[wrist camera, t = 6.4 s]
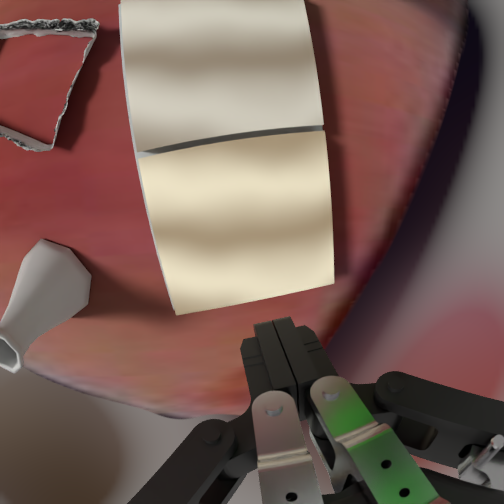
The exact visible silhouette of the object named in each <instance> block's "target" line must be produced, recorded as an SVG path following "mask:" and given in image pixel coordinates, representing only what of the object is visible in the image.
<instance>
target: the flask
mask: <svg viewBox="0 0 504 504" xmlns="http://www.w3.org/2000/svg"><path fill="white" fill-rule="evenodd" d="M91 277H92V275H91V274H90V273H89V272H88V271H87V270H86V268H85V267H84V266H83V265H82V263H81V262H80V261H79V260H78V258H77V257H76V256H75V255H74V253H73V252H72V251H71V250H70V249H69V248H67V247H64V246H61V245H58V244H55V243H52V242H49V241H46V240H44V239H40V240H39V241H38V243H37V244H36V245H35V246H34V247H33V248H32V249H31V250H30V251H29V252H28V254H27V255H26V256H25V257H24V259H23V261H22V264H21V267H20V270H19V273H18V277H17V280H16V283H15V286H14V289H13V292H12V295H11V298H10V302H9V305H8V307H7V309H6V311H5V313H4V315H3V317H2V319H1V321H0V366H1V367H2V368H4V369H6V370H8V371H10V372H12V373H16V372H17V371H18V370H19V369H20V368H22V367H23V365H24V359H23V356H24V354H25V352H26V351H27V349H28V348H29V346H30V345H31V344H32V343H33V342H34V341H35V340H36V339H37V338H38V337H39V336H41V335H42V334H44V333H45V332H47V331H49V330H50V329H52V328H54V327H56V326H57V325H59V324H61V323H63V322H65V321H67V320H68V319H70V318H71V317H72V316H74V315H75V314H76V313H77V312H79V311H80V310H81V309H83V308H84V307H85V306H86V305H88V301H89V292H90V284H91Z"/></svg>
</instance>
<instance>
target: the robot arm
mask: <svg viewBox="0 0 504 504" xmlns="http://www.w3.org/2000/svg"><path fill="white" fill-rule="evenodd" d="M254 331H255V337H252V338H247V339H243V342H242V345H241V348H240V350H241V355H242V359H243V364H244V368H245V373H246V377H247V382H248V386H249V391H250V395H251V403H250V406H249V408H248V409H247V411H246V412H245V413H244V414H242V415H241V416H240V417H238V418H236V419H234V420H232V421H230V422H225V421H222V420H219V419H210V420H206V421H203V422H202V423H199V424H198V425H197V426H196V427H195V428H194V429H193V430H192V431H191V433H190V434H189V435H188V436H187V437H186V438H185V440H184V441H183V442H182V443H181V444H180V446H179V447H178V448H177V449H176V450H175V451H174V453H173V454H172V455H171V456H170V457H169V458H168V459H167V461H166V462H165V463H164V464H163V465H162V466H161V468H160V469H159V470H158V471H157V472H156V473H155V474H154V475H153V477H152V478H151V479H150V480H149V481H148V482H147V483H146V484H145V485H144V486H143V488H142V489H141V490H140V491H139V492H138V493H137V494H136V495H135V496H134V497H133V498H132V499H131V500H130V501H129V502H128V503H127V504H227V503H228V501H229V500H230V499H231V497H232V496H233V494H234V493H235V491H236V490H237V489H238V487H239V485H240V484H241V483H242V481H243V480H244V478H245V477H246V475H247V473H249V472H250V471H253V470H255V469H257V468H258V474H259V481H260V488H261V496H262V503H263V504H504V402H503V401H499V400H494V399H491V398H487V397H483V396H479V395H476V394H472V393H468V392H465V391H461V390H457V389H454V388H451V387H447V386H444V385H440V384H437V383H434V382H430V381H427V380H424V379H421V378H418V377H415V376H412V375H408V374H406V373H403V372H398V371H392V372H387V373H385V374H383V375H382V376H380V377H379V379H378V380H377V382H376V383H371V384H352V383H349V382H348V381H347V380H345V379H344V378H341V377H339V376H338V374H337V372H336V371H335V369H334V367H333V365H332V363H331V362H330V360H329V358H328V356H327V354H326V352H325V351H324V349H323V347H322V345H321V343H320V342H319V340H318V338H317V336H316V334H315V333H314V331H312V330H311V329H310V328H308V327H307V326H305V325H304V326H300V327H295V325H294V323H293V321H292V319H291V317H290V316H289V317H284V318H280V319H276V320H272V321H267V322H262V323H258V324H254ZM306 419H307V421H308V424H309V427H310V436H311V439H312V441H313V443H314V445H315V447H316V449H317V451H318V453H319V455H320V457H321V459H322V461H323V463H324V465H325V467H326V469H327V471H328V473H329V476H330V480H331V484H332V487H333V490H334V492H335V494H327V495H321V491H320V488H319V484H318V480H317V476H316V473H315V468H314V465H313V461H312V458H311V455H310V453H309V452H308V451H307V448H306V444H305V440H304V436H303V433H302V428H301V424H300V421H302V420H306ZM410 454H411V455H414V456H417V457H420V458H423V459H426V460H429V461H433V462H436V463H439V464H442V465H446V466H449V467H453V468H456V469H458V473H459V479H457V478H453V477H450V476H447V475H444V474H441V473H438V472H435V471H432V470H429V469H425V468H421V467H418V465H417V463H416V462H415V461H414V459H413V458H412V456H411V455H410Z"/></svg>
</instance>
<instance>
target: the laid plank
mask: <svg viewBox="0 0 504 504" xmlns="http://www.w3.org/2000/svg"><path fill="white" fill-rule="evenodd" d="M121 19H122V37H123V50H124V61H125V72H126V81H127V89H128V97H129V105H130V112H131V119H132V125H133V132H134V138H135V144H136V149H137V152H141V151H146V150H150V149H154V148H159V147H163V146H168V145H173V144H178V143H183V142H188V141H193V140H198V139H204V138H210V137H216V136H222V135H229V134H236V133H243V132H251V131H259V130H267V129H277V128H287V127H299V126H313V125H324V122H323V113H322V105H321V97H320V90H319V82H318V76H317V69H316V63H315V57H314V51H313V45H312V39H311V34H310V29H309V23H308V18H307V14H306V9H305V4H304V0H121Z"/></svg>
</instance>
